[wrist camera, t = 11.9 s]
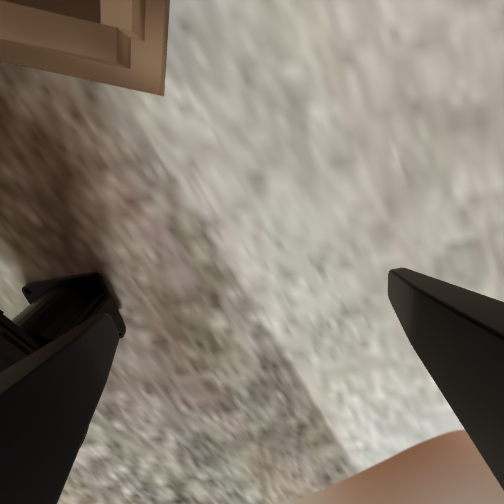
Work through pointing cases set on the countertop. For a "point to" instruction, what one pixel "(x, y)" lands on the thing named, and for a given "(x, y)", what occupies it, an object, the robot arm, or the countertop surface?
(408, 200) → the countertop surface
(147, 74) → the open box
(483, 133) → the countertop surface
